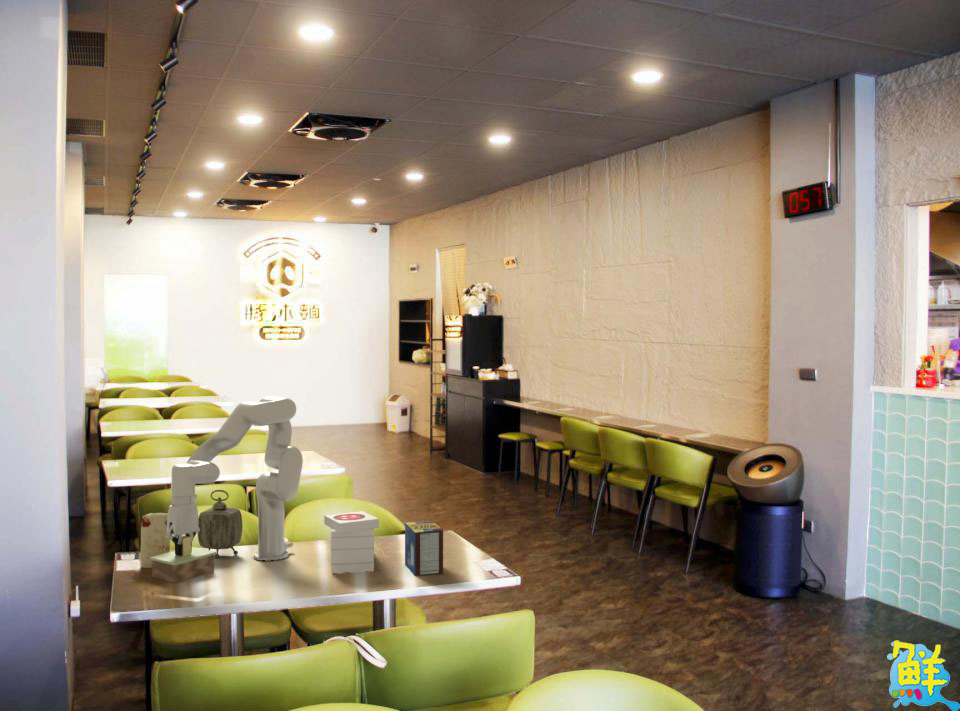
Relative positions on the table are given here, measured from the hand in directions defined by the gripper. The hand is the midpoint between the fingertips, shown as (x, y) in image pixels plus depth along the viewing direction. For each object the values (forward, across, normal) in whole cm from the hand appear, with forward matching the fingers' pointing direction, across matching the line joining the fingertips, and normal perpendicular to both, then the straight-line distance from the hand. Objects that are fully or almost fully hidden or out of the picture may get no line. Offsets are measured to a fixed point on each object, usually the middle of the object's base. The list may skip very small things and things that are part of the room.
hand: (183, 553), depth 282 cm
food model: (+8, -2, -17) cm, 19 cm away
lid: (+2, 0, 0) cm, 2 cm away
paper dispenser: (+9, -45, +36) cm, 58 cm away
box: (+8, 0, 0) cm, 8 cm away
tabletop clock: (+8, -25, -10) cm, 28 cm away
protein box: (+9, -53, +63) cm, 83 cm away
